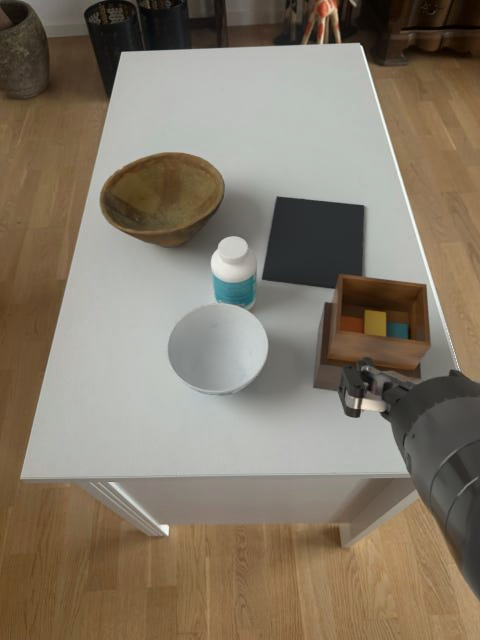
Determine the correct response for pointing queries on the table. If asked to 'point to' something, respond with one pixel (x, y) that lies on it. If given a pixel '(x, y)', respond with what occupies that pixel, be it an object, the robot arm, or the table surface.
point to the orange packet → (351, 324)
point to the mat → (314, 242)
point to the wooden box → (400, 307)
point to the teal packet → (396, 330)
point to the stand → (330, 369)
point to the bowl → (162, 197)
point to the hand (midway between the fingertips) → (407, 372)
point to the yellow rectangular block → (374, 323)
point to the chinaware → (217, 348)
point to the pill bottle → (234, 273)
